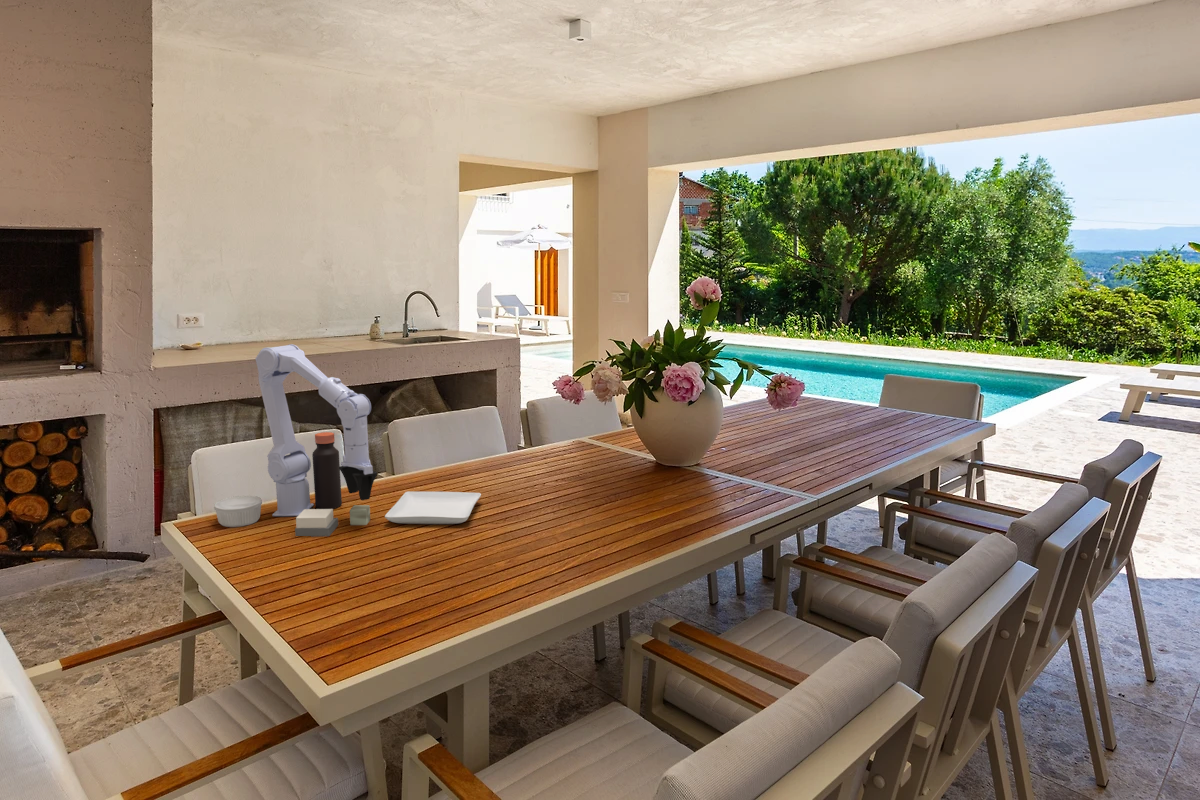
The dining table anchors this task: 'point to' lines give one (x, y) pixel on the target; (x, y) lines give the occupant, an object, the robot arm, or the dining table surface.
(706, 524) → the dining table surface
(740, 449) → the dining table surface
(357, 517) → the sage cube
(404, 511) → the salad plate
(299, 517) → the cream slab
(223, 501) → the ramekin
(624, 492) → the dining table surface
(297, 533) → the charcoal slab
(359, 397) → the robot arm
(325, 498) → the bottle
